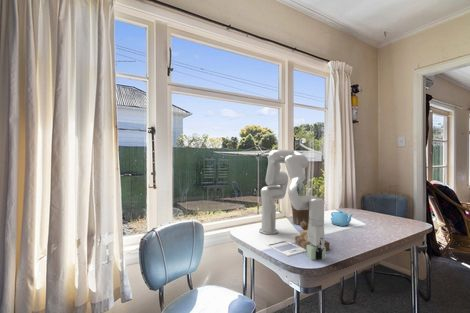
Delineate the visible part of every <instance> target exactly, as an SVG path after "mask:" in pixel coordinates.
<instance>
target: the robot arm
mask: <svg viewBox="0 0 470 313" xmlns="http://www.w3.org/2000/svg"><path fill="white" fill-rule="evenodd" d="M281 164H284V165H285V169H286V170H287V172H285V171H284V170H283V171H282V170H281ZM308 164H309V159H308V158H307V156H306V155H305V154H302V153H300V152H299V151H296V150H293V149H273V150H270V152H269V154H268V156H267V167H266V168H267V169H266V173H265V174H266V175H265V184H266V186H263V187H261V189H260V197H261V227H260V228H259V232H260V234H264V235H276V234H278V233H279V230H278V229H276V225H277V224H276V222H277V221H276V219H277V218H276V216H277V213H276V210H277V208H276V203H275V202H274V200H282V199H284V198H285V195H286V194H287V193H288V198H289V201H290V205H291V204H292V206H293V208H294V209H296V210H308V209H309V224H308V232H307V240H308V241H309V243H310V244H313V245H314V246H316V250H317V251H316V259H317V260H323V259H322V252H323V249H325V246H324V243H325V240H326V239H325V238H326V237H325V235H326V234H325V227H324V226H325V200H324V199H323V198H320V197H316V196H314V195H311V194H310V195H309V194H308V195H299V193H298V189H297V188H298V184H301V183H303V182H304V181H305V180H306V175H305V172H304V169H306V168H307V167H308V166H309V165H308ZM289 178H290V184H289V186H288V183H289ZM287 188H288V192H287ZM319 244H320V245H319ZM318 247H320V248H319V249H318Z"/></svg>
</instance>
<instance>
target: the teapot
mask: <svg viewBox="0 0 470 313" xmlns="http://www.w3.org/2000/svg"><path fill="white" fill-rule="evenodd" d="M330 215H331V217H330V222H331V223H332V225H334V224H335V225H336V226H338V225H339V226H338V227H346V226H345V225H347V226H349V225H350V223H351V221H352V216H353V215H354V214H353V213H350V214H348V213H347V212H345V211H343V210H338V211H332V212H331V213H330Z"/></svg>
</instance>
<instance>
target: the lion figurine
mask: <svg viewBox="0 0 470 313" xmlns="http://www.w3.org/2000/svg"><path fill="white" fill-rule="evenodd" d="M299 226H300V228H301V229H302V230H308V223H306V222H304V221H302V222H301V225H299Z"/></svg>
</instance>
